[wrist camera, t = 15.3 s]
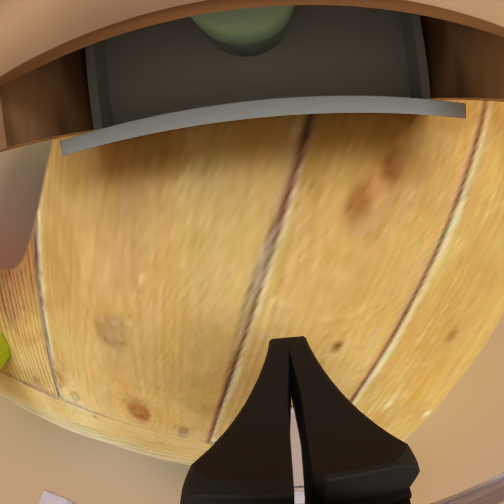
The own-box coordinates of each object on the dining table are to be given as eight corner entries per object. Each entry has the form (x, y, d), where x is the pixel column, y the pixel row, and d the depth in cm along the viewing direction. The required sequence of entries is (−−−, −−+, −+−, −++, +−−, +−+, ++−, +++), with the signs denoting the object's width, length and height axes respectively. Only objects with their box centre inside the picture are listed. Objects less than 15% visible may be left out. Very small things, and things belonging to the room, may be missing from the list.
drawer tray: (423, 114, 17) (466, 118, 12) (103, 144, 18) (62, 155, 14) (400, -32, 13) (432, -59, 8) (90, -1, 14) (52, -22, 9)
